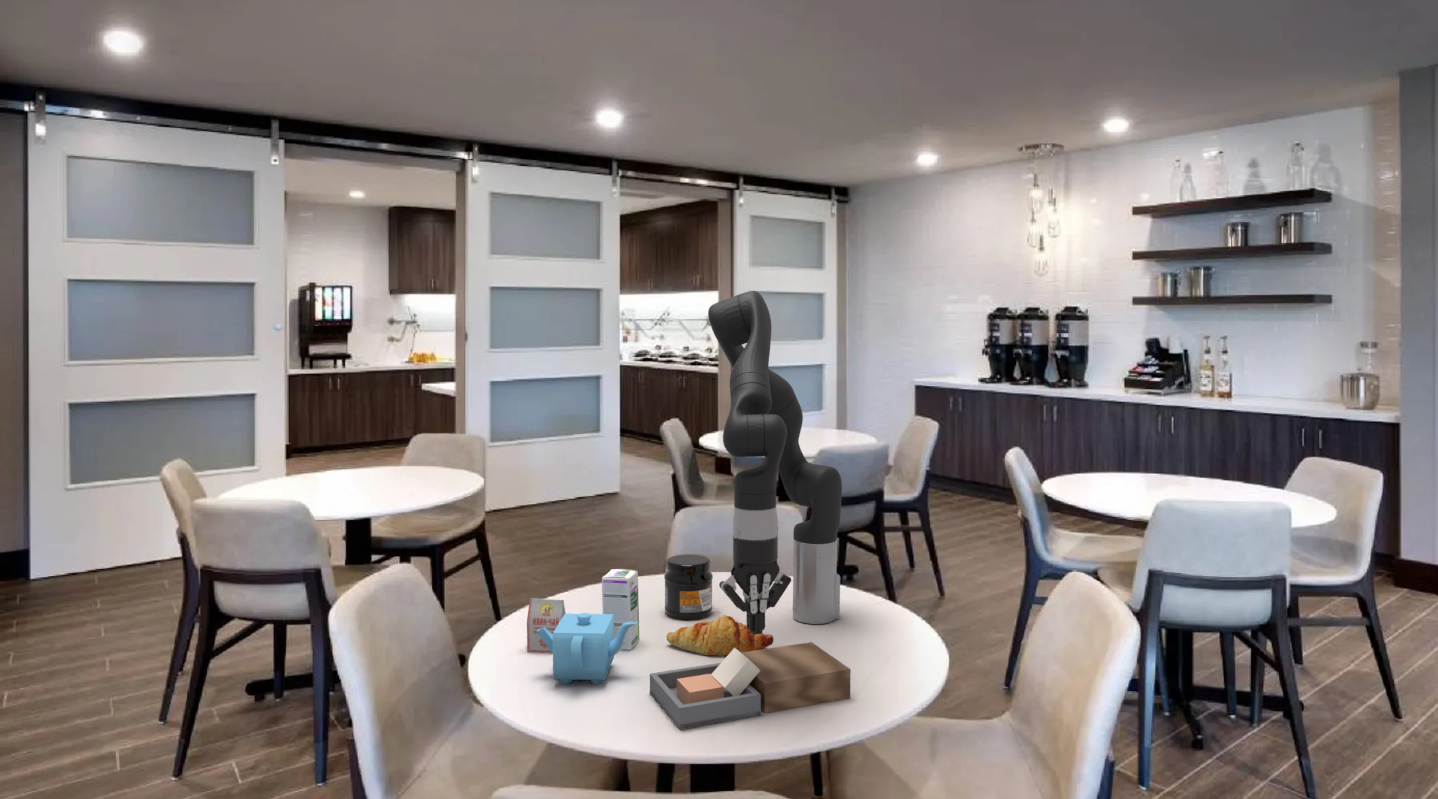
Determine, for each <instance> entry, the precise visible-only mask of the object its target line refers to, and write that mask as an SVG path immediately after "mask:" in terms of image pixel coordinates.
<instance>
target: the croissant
mask: <svg viewBox="0 0 1438 799" xmlns="http://www.w3.org/2000/svg"><path fill="white" fill-rule="evenodd" d="M665 637H666V641H667V642H668V643H669V644H671V645H672V646H674V647H676V648H678V649H681V650H684V651H688V652H692V653H696V654H699V655H703V656H719V657H723V656H726V657H727V656H728V655H729V653H730V652H731V651H732V650H733V649H734V648H736V649H737V650H738V651H739V652H741V653H742V652H749V651H755V650H762V649H767V647H768V648H769V647H770V646H771V645H772V644H774V640H775V639H774V635H772V634H766V633H763V632H762V634H756V635H753V634H752V633H751V632H750V631H749V630H748V629H747V624H745V623H742V622H740V621H739V622H737V621H736V620H735V619H734V617H733V616H730V615H729V616H728V615H726V614H724V615H722V616H718V617H716V618H714V619H713V620H707V621H706V620H705V621H704V620H703V621H698V622H696V623H694V624H693V625H689V626H682V627H680V628H677V629H676V630H674V631H671V632H670V631H669V632H668V633H667V634H666V636H665Z"/></svg>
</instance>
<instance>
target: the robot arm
mask: <svg viewBox="0 0 1438 799" xmlns="http://www.w3.org/2000/svg"><path fill="white" fill-rule="evenodd" d="M707 314H708V315H707V318H708V321H709V325H710V328H711V330H712V332H713V335H714V337H715V338H716V340H717V343H718V344H719V346H720V348H721V349H722V351H723V353H724V355H725V356H726V358H727V360H728V363H729V364H730V365H731V367H732V369H731V372H730V377H729V390H730V391H729V392H730V409H729V412H728V416H727V419H726V421H725V424H724V428H723V433H722V443H723V447H724V449H725V450H726V451H727V453H729V455H730V456H733V457H737V458H742V457H743V458H748V457H754V458H755V457H756V458H757V457H759V458H760V457H761V458H762V457H764V459H763V461H762V462H761V464H760V465H758V466H756V467H754V468H753V467H752V468H750V469H749V468H748V469H745V470H741V471H739V472H738V473H736V474H735V475H734V482H733V488H734V491H733V495H734V496H733V499H734V506H733V515H732V559H733V564H732V565H733V566H732V569H731V570H730V576H729V577H728V578H727V579H726V580H721V581H720V582H719V585H718V586H719V588H720V589H721V590H722V591H723V593H724V594H725V595H726V596H727V598H728V599H729V600H730V601H731V602H732V604H733V605H734V606H735V608H737V609H739V610H740V611H742V612H744V613H746V625H747V629H748V630H749V631H750V632H751V633H752V634H753V635H756V634H762V633H763V631H764V630H765V628H766V611H767V610H769V609H770V608H775V607H776V605H777V604H778V602H779V601H780V599H781V598H782V596H783V594H784V593H785V592H786V589H788V587H789V586H790V584H791V582H792V618H793V619H794V620H795V621H797V622H800V623H804V624H811V625H823V624H828V623H832V622H834V621H836V620H839V619H840V614H841V606H840V605H841V600H840V599H841V576H840V574H838V572H837V559H838V558H837V555H838V553H837V551H838V550H837V547H838V546H837V545H838V544H837V543H838V542H837V540H838V531H839V528H840V523H841V512H842V510H841V509H842V498H843V483H842V477H841V474H840V473H839V471H838V469H837V468H835V467H833V466H830V465H823V464H816V463H811V462H809V461H808V460H807V459H806V457H805V455H804V454H803V451H802V449H801V447H800V443H799V439H800V435H801V431H802V427H803V420H804V415H803V414H804V413H803V409H802V407H801V404H800V402H799V400H798V398H797V395H796V392H795V391H794V388H793V386H792V385H791V384H790V383H789V381H788V380H786V379H785V378H783V377H782V376H781V375H780V374H778V373H777V372H775V371H773V370H771V369H770V368H769V363H770V353H771V341H772V340H771V339H772V318H771V315H770V314H771V313H770V311H769V308H768V305H767V303H766V301H765V299H764V298H763V296H762V294H760V292H758V291H757V290H756V291H755V290H749V291H746V292H743V293H739V294H737V295H734V296H731V297H728V298H726V299H722V300H720V301H718V302H715V303H714V304H712V305H710V306H709V308H708V312H707ZM743 345H745V346H743ZM778 472H779V475H780V479H781V481H782V484H783V487H784V490H785V493H786V494H787V496H788V498H789V499H790V501H791V502H792V503H794V504H796V505H799V506H802V507H807V508H811V515H810V519H809V520H806V521H802V522H798V523H797V524H795V525H794V527H793V533H792V534H793V536H792V537H793V540H792V542H793V547H792V548H793V549H792V550H793V552H792V554H793V555H792V557H793V558H792V559H793V562H792V566H793V568H792V578H791V577H790V576H789V575H787V574H785V573H783V572H781V571H780V570H781V569H780V566H779V564H778V559H779V552H778V551H779V550H778V549H779V548H778V546H779V543H778V541H779V536H778V535H779V533H778V532H779V525H778V524H779V522H778V519H779V518H778V512H777V511H778V510H777V479H778ZM736 584H737V585H738V586H739V588H740V589H741V591H742V596H743V599H744V600H743V599H742V597H740V595H739V594H738V593H737V592H736V591H737V585H736Z"/></svg>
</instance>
